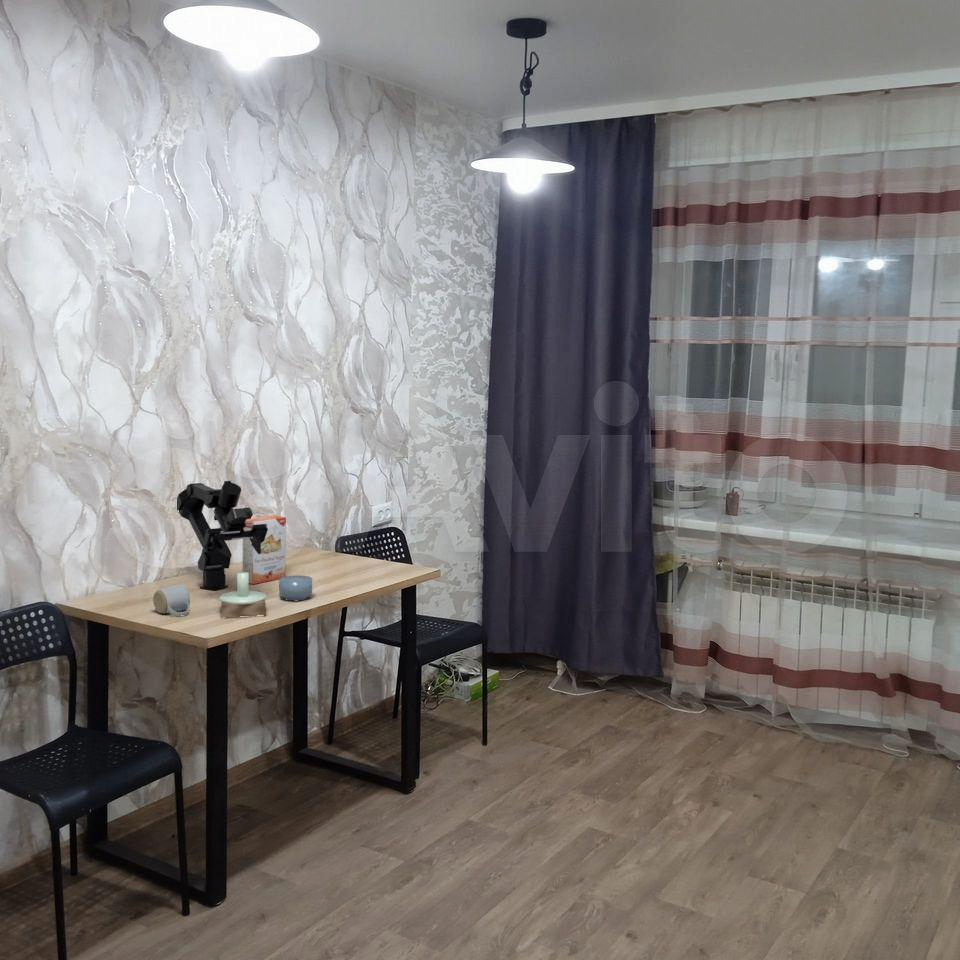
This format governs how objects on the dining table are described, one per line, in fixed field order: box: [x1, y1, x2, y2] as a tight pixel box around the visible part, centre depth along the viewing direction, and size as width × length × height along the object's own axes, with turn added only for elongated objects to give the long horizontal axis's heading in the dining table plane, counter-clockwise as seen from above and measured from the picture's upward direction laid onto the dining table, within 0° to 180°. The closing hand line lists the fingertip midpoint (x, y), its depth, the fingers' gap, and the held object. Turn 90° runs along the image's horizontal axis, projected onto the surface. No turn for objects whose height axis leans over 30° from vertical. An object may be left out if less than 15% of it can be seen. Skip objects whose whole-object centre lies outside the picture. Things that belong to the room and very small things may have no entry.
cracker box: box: [242, 515, 287, 585], centre depth 322 cm, size 14×6×21 cm, turn 143°
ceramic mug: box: [152, 583, 191, 617], centre depth 281 cm, size 11×8×8 cm
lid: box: [219, 571, 267, 604], centre depth 283 cm, size 13×13×8 cm
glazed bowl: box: [278, 574, 313, 601], centre depth 301 cm, size 10×10×6 cm
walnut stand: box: [220, 599, 267, 618], centre depth 283 cm, size 12×12×4 cm
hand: (245, 554), depth 290 cm, fingers open, 9 cm apart
